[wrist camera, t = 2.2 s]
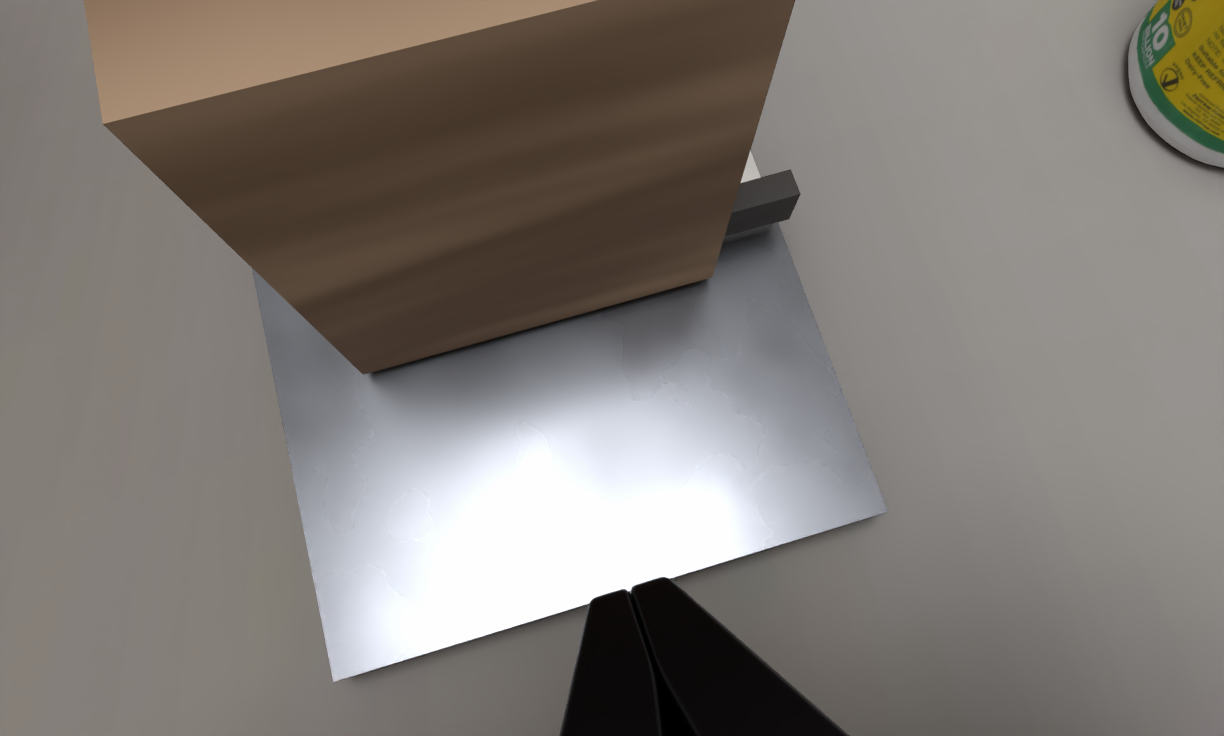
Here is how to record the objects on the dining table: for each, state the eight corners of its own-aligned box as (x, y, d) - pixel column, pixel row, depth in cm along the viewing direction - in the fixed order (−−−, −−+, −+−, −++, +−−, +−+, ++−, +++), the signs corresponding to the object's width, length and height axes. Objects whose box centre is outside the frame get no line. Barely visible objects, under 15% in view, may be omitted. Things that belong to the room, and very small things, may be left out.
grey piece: (871, 517, 20) (1190, 399, 9) (350, 677, 19) (-7, 765, 8) (603, -196, 25) (597, -802, 14) (193, -101, 24) (-140, -672, 13)
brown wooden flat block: (796, 253, 20) (974, -94, 10) (363, 374, 19) (102, 123, 9) (766, 177, 20) (909, -223, 10) (344, 291, 19) (80, -27, 10)
